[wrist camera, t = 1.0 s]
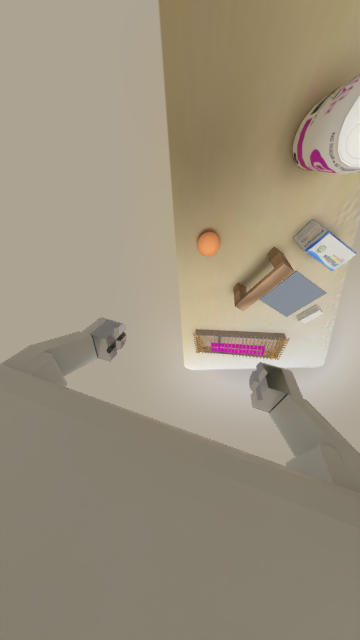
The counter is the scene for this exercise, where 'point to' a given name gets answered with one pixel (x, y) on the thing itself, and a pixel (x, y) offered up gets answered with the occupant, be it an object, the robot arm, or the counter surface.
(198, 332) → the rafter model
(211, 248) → the ball
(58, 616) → the robot arm
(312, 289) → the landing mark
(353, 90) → the supplement can
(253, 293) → the bridge
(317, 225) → the medicine box
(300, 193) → the counter surface
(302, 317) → the kerb
